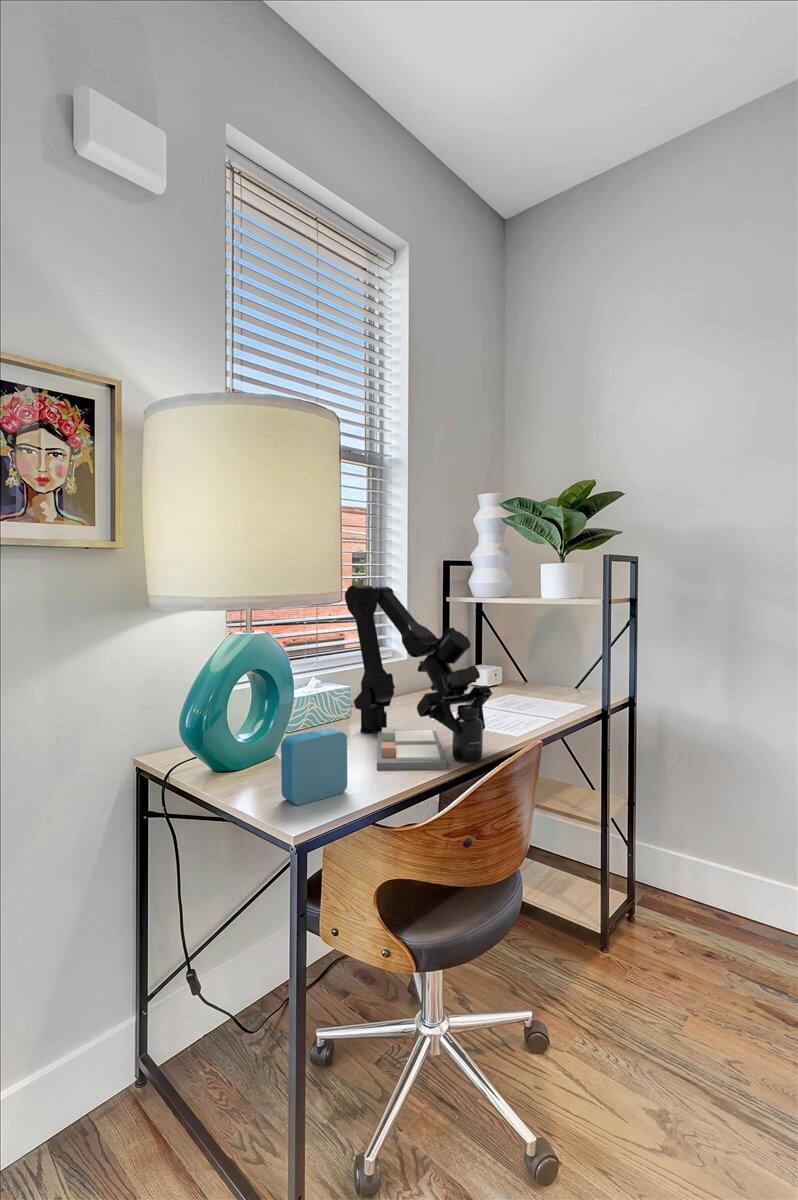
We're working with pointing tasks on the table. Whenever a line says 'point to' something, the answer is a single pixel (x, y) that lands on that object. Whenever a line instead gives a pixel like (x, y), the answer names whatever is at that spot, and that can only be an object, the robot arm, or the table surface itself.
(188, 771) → the table surface
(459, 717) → the supplement bottle
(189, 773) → the table surface
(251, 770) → the table surface
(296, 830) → the table surface
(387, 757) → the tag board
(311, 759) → the blue rounded square block
